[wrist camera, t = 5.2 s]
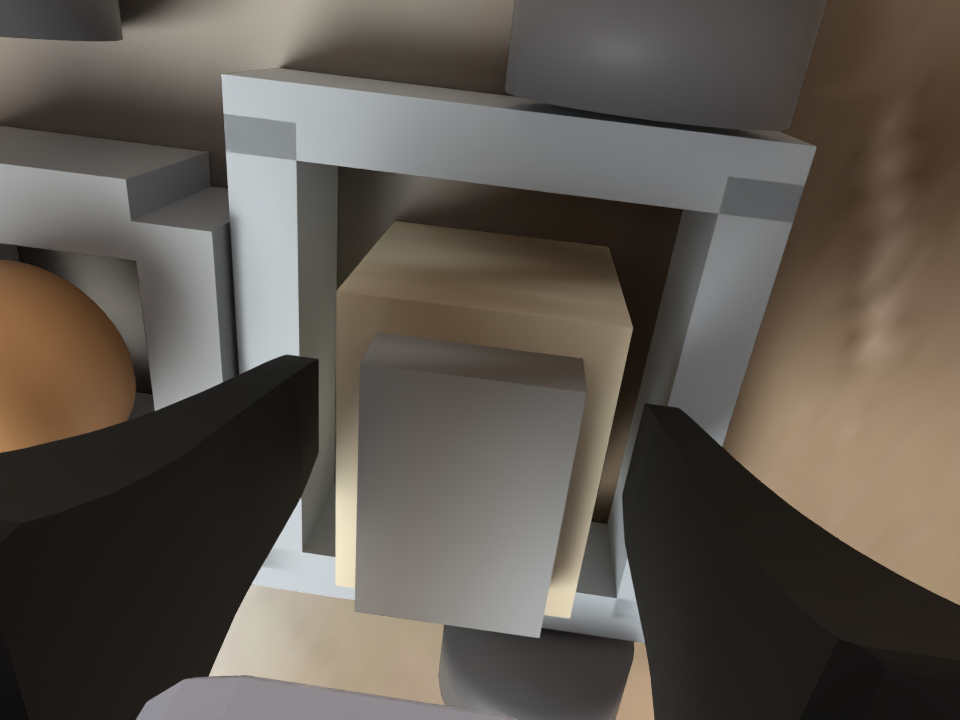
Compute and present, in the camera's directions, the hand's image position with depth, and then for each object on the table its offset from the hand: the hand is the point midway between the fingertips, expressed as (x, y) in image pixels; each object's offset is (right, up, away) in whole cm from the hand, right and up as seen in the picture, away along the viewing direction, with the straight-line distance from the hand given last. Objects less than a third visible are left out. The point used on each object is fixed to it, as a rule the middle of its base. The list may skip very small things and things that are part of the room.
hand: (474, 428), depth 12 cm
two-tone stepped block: (0, +1, +3) cm, 3 cm away
